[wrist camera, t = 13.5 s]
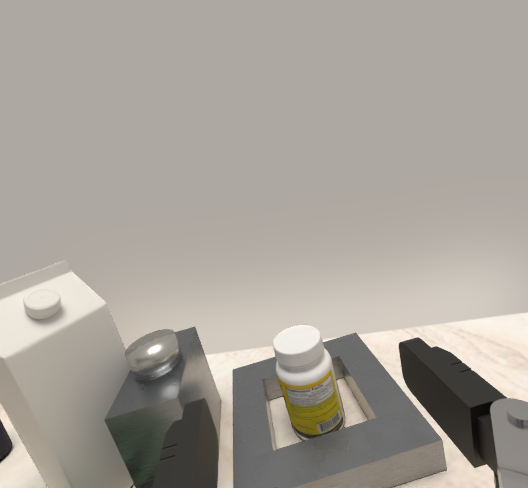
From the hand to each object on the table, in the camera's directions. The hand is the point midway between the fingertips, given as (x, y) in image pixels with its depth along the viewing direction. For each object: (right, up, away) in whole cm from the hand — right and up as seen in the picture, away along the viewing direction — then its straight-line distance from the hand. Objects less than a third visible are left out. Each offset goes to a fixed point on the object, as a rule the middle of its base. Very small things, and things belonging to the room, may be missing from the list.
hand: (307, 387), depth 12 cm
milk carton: (-15, -15, +15) cm, 26 cm away
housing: (0, -11, +14) cm, 18 cm away
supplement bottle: (+3, -10, +15) cm, 18 cm away
